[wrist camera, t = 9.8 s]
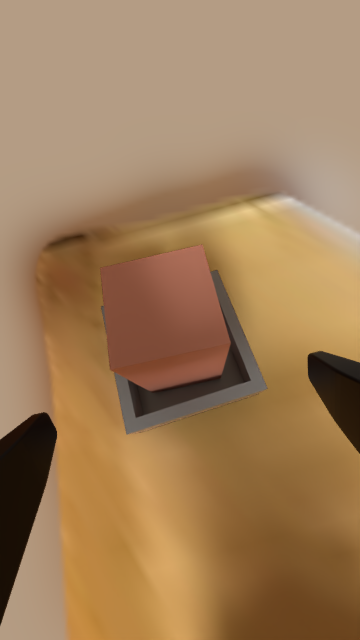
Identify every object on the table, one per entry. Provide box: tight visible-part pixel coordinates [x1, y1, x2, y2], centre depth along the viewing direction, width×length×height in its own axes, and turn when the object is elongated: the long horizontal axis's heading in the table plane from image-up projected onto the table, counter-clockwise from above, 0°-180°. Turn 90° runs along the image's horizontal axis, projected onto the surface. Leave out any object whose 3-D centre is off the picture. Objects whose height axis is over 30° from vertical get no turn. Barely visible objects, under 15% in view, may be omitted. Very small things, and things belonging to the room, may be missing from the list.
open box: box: [101, 270, 268, 434], centre depth 19 cm, size 9×9×4 cm
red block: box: [100, 245, 231, 393], centre depth 16 cm, size 5×5×9 cm
